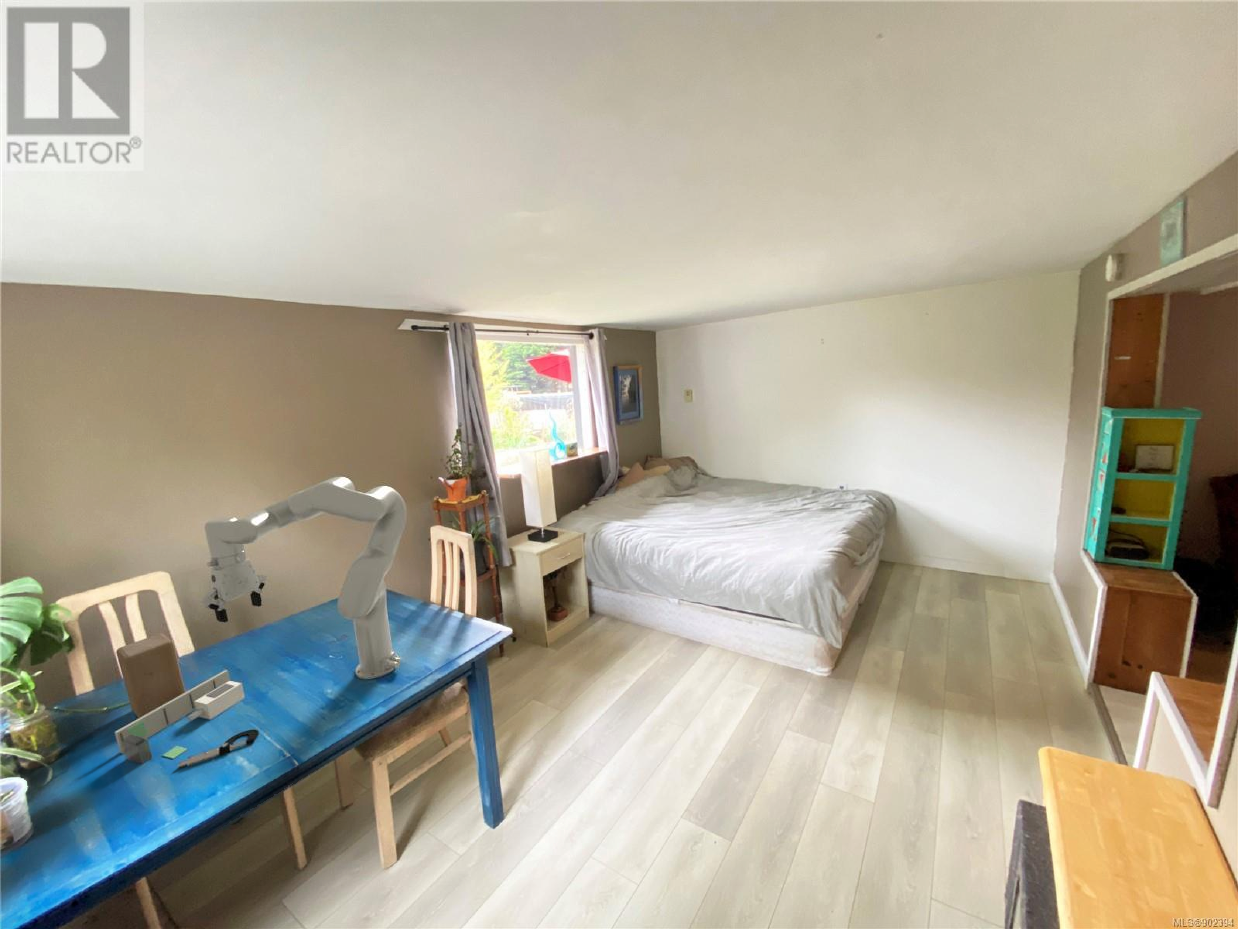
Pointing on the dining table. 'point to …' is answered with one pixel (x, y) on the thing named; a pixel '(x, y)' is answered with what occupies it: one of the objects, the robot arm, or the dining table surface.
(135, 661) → the wooden block
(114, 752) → the dining table surface
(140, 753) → the grey faceted block
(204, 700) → the white slotted box
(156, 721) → the scale board
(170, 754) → the green flat block
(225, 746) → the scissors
